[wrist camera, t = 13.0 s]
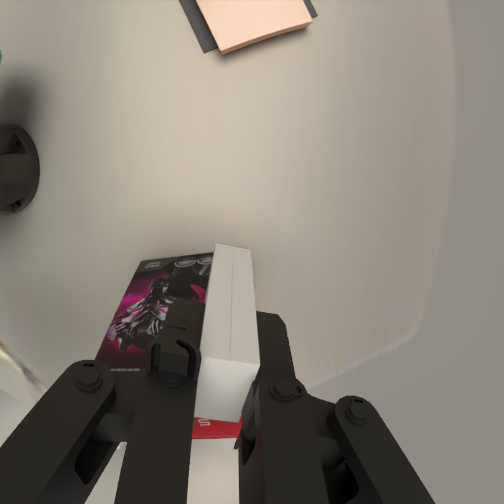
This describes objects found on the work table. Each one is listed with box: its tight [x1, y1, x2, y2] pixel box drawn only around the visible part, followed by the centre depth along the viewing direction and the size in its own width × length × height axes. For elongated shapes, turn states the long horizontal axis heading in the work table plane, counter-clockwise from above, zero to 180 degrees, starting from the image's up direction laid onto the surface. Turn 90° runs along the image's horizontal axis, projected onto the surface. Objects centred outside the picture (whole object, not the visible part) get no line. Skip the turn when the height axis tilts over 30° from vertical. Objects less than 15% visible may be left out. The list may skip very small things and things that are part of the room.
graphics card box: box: [95, 252, 242, 439], centre depth 36 cm, size 17×7×27 cm, turn 96°
